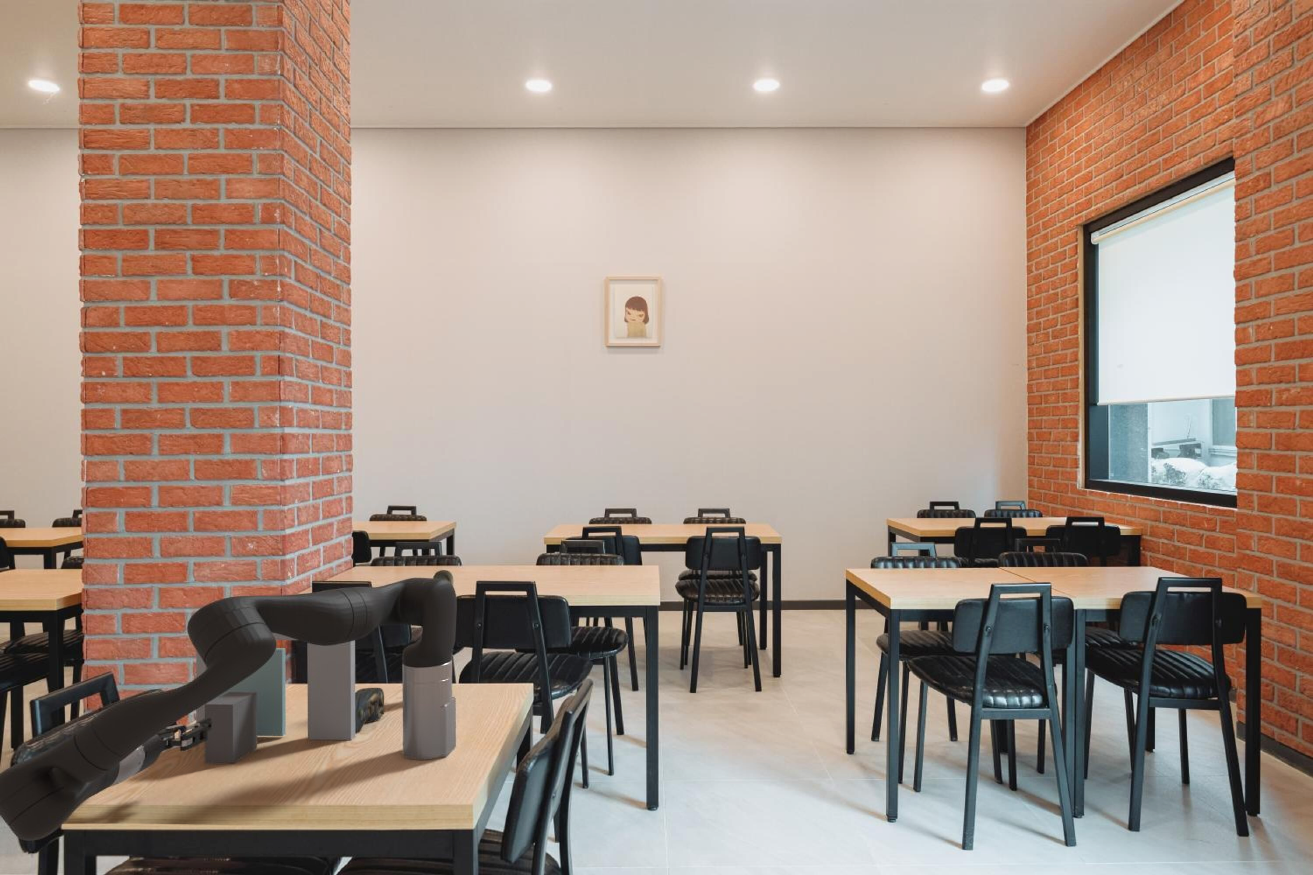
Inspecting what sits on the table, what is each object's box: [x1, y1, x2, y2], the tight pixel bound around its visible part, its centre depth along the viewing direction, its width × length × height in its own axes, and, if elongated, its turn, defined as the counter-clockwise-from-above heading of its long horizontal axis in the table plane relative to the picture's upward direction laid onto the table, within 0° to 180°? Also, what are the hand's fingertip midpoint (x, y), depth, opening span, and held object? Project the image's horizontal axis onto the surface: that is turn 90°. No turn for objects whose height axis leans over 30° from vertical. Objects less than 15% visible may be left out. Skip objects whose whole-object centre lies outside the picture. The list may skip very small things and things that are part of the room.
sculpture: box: [355, 687, 385, 734], centre depth 173 cm, size 13×6×7 cm, turn 4°
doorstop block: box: [204, 692, 258, 765], centre depth 155 cm, size 6×8×11 cm
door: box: [210, 647, 287, 737], centre depth 166 cm, size 16×2×18 cm, turn 86°
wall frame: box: [195, 633, 356, 741], centre depth 165 cm, size 32×2×22 cm, turn 86°
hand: (185, 722), depth 142 cm, fingers open, 8 cm apart
